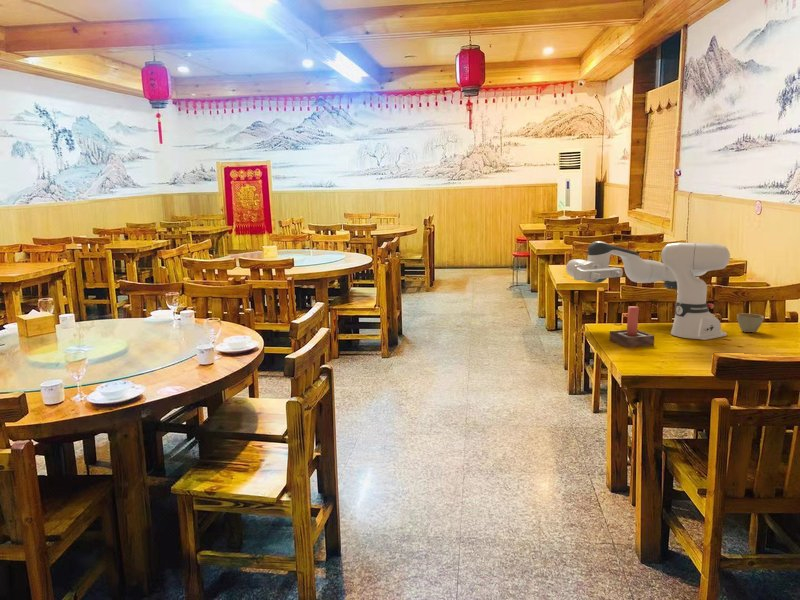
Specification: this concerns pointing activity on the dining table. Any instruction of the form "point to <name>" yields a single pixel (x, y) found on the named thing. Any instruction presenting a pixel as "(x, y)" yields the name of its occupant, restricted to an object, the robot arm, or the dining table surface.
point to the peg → (632, 321)
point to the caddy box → (631, 338)
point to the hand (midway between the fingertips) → (610, 275)
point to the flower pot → (749, 322)
